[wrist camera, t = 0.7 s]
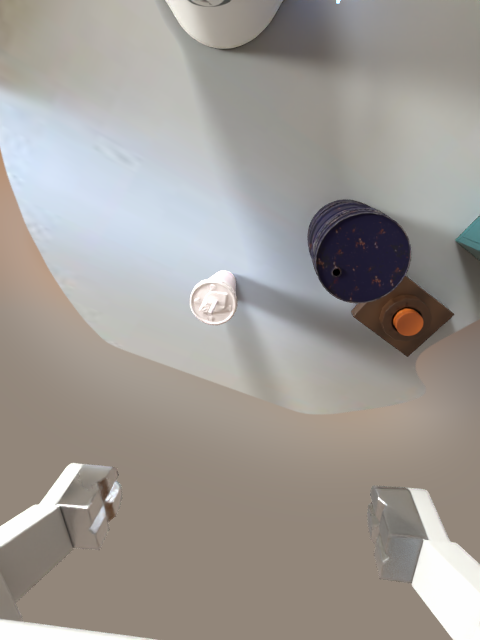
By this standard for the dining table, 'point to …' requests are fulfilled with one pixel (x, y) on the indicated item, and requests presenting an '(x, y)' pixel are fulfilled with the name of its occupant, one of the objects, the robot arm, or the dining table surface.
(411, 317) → the button
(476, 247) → the tea tin
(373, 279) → the oil barrel
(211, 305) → the smoothie
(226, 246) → the dining table surface
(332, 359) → the dining table surface
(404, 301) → the button block
